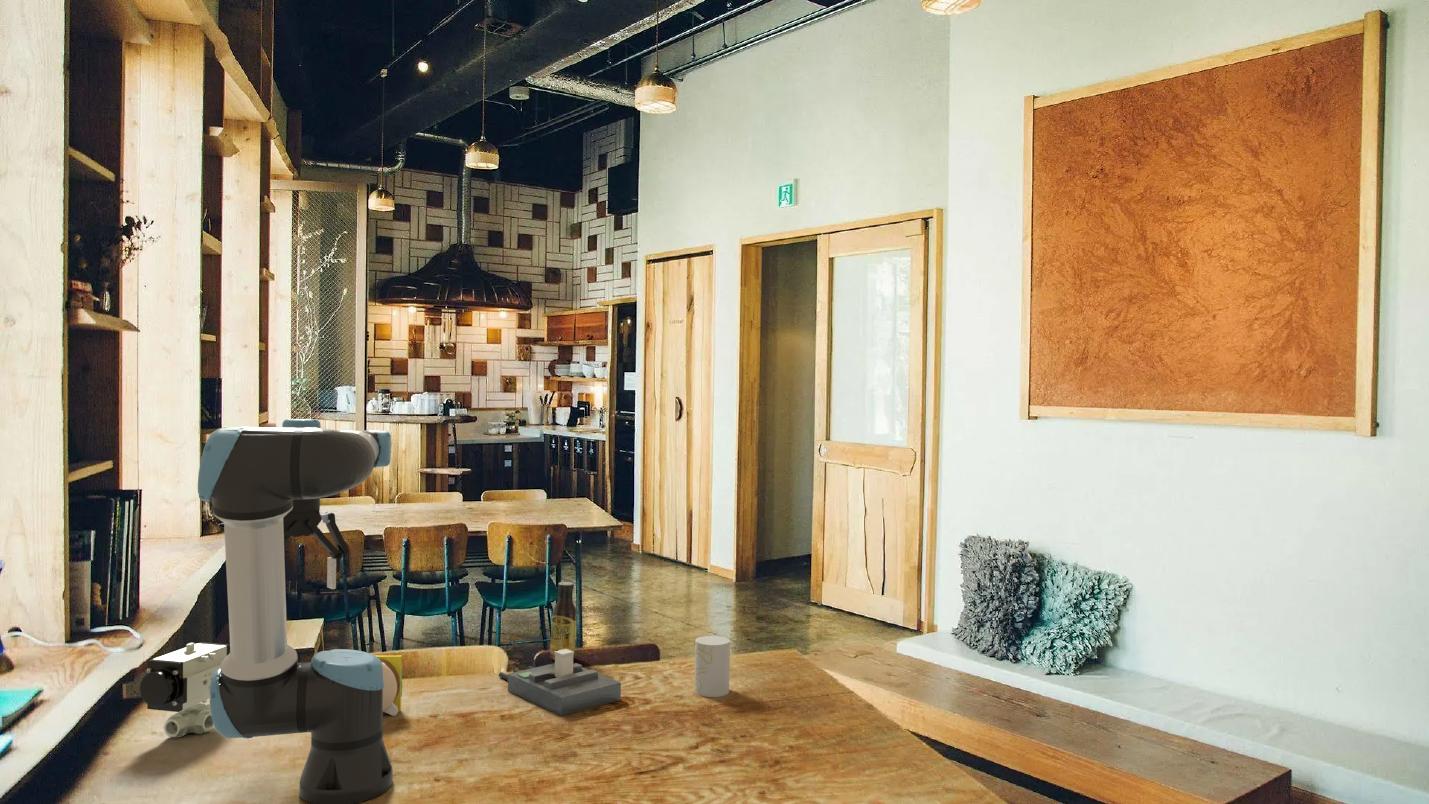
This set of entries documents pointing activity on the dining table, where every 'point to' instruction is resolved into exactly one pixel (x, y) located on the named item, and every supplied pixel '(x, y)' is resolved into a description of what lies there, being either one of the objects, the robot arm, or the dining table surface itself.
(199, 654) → the ball valve
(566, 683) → the grey slider base
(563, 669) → the lever
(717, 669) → the white cylinder
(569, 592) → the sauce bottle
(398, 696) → the yellow block with disc
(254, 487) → the robot arm
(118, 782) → the dining table surface
